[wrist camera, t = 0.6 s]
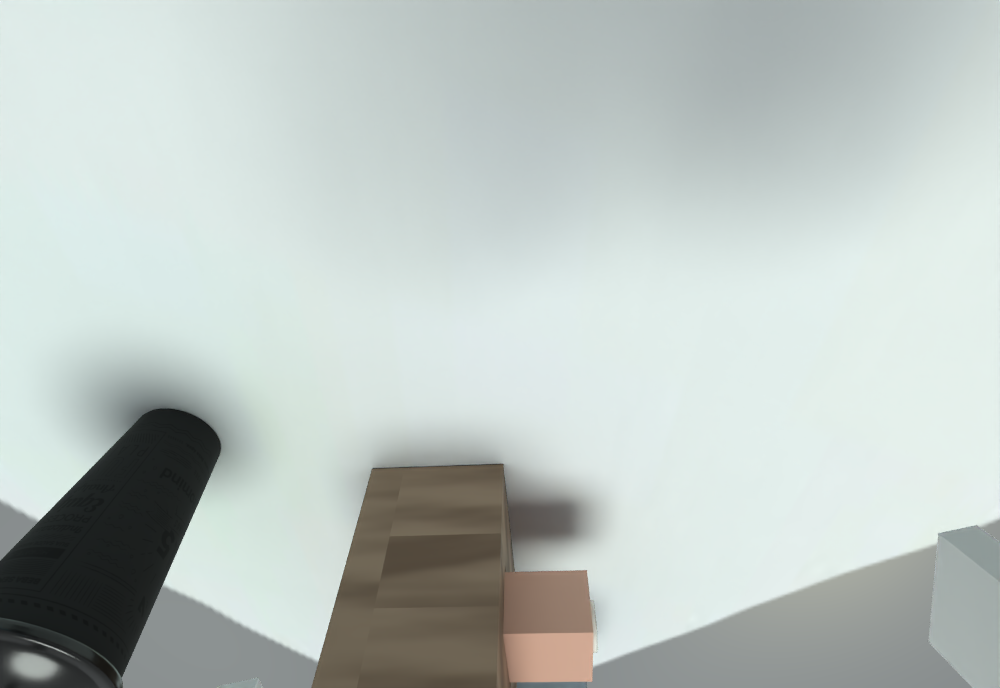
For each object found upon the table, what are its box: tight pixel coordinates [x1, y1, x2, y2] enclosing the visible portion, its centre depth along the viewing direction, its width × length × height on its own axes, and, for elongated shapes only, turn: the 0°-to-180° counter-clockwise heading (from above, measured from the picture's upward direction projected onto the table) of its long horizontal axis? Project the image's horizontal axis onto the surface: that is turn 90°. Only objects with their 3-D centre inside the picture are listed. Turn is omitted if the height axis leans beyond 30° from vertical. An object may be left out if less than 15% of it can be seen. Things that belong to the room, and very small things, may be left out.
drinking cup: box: [0, 409, 221, 688], centre depth 26 cm, size 8×8×20 cm
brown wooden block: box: [312, 464, 517, 688], centre depth 36 cm, size 22×8×14 cm, turn 4°
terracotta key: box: [503, 570, 598, 682], centre depth 32 cm, size 5×6×4 cm
